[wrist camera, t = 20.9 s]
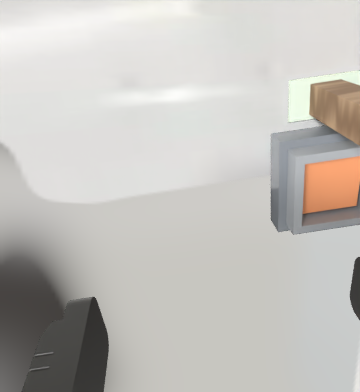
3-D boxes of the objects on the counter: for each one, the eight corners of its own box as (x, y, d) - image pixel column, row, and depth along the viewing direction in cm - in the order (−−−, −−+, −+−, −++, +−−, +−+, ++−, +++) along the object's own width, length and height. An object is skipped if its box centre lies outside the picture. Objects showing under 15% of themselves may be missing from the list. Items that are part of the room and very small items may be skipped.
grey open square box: (270, 133, 40) (286, 149, 35) (371, 118, 40) (400, 132, 35) (270, 219, 46) (284, 242, 41) (358, 206, 46) (382, 227, 41)
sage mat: (288, 80, 37) (290, 81, 37) (360, 69, 37) (362, 70, 37) (287, 121, 39) (289, 122, 39) (355, 111, 40) (357, 112, 39)
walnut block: (310, 83, 37) (374, 111, 27) (341, 79, 37) (416, 104, 27) (309, 114, 39) (368, 151, 28) (338, 110, 39) (409, 145, 28)
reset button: (292, 151, 41) (302, 161, 38) (349, 143, 41) (363, 152, 38) (291, 202, 44) (299, 214, 41) (344, 194, 44) (356, 205, 42)
